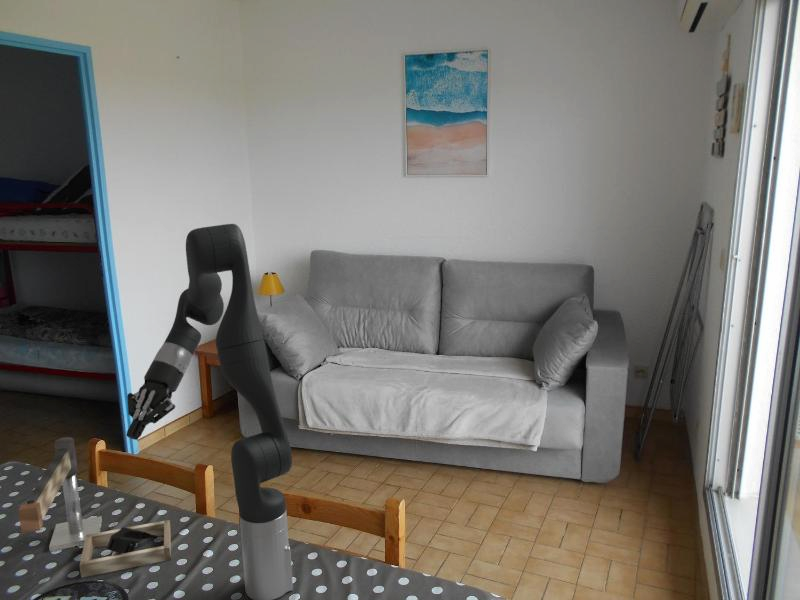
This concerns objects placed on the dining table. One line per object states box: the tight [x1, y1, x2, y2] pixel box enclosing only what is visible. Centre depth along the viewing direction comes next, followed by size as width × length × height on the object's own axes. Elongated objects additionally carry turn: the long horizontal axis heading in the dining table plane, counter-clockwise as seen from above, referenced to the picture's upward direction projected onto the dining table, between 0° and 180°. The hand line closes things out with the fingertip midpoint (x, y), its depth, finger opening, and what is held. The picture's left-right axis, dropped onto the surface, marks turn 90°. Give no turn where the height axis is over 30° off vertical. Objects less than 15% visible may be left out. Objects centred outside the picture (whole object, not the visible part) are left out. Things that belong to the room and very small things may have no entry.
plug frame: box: [79, 519, 172, 578], centre depth 146 cm, size 18×12×3 cm, turn 109°
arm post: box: [48, 473, 103, 552], centre depth 152 cm, size 10×10×16 cm
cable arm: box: [17, 436, 79, 534], centre depth 138 cm, size 30×4×8 cm, turn 13°
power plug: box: [106, 526, 158, 556], centre depth 146 cm, size 6×8×12 cm
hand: (131, 438), depth 140 cm, fingers closed
